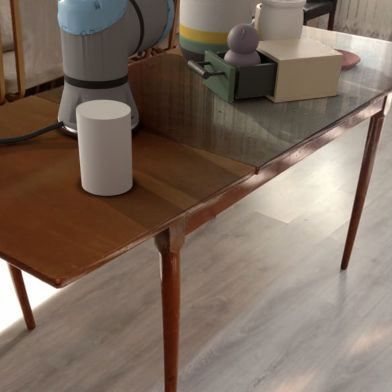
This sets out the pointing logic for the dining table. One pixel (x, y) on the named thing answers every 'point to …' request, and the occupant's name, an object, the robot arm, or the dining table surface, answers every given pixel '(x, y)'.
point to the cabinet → (303, 68)
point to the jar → (280, 19)
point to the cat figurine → (242, 47)
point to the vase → (210, 25)
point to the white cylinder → (105, 146)
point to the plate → (348, 60)
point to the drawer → (246, 79)
